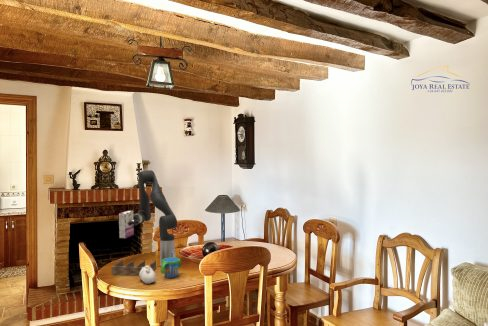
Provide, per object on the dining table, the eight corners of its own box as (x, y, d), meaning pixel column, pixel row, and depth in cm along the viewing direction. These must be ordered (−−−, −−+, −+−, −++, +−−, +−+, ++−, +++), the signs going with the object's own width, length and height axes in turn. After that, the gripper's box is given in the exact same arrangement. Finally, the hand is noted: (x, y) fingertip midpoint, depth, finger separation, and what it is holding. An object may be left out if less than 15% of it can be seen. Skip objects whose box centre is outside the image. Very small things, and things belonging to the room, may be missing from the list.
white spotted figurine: (153, 268, 205) (145, 259, 218) (140, 277, 202) (133, 267, 215) (161, 281, 209) (152, 271, 221) (149, 290, 206) (141, 279, 218)
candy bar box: (127, 234, 251) (127, 210, 250) (134, 234, 250) (133, 210, 249) (118, 238, 240) (118, 213, 239) (125, 238, 239) (125, 213, 238)
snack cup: (174, 271, 230) (174, 255, 230) (186, 274, 224) (186, 258, 224) (155, 278, 218) (155, 260, 218) (167, 281, 212) (167, 264, 211)
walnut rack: (156, 268, 236) (156, 260, 236) (147, 276, 221) (147, 267, 221) (122, 267, 239) (122, 259, 239) (111, 274, 224) (111, 266, 224)
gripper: (125, 214, 259) (114, 218, 243) (144, 214, 258) (135, 218, 241) (125, 224, 260) (114, 229, 243) (144, 225, 258) (135, 229, 241)
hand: (124, 224), depth 242 cm, fingers closed on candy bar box, 5 cm apart
